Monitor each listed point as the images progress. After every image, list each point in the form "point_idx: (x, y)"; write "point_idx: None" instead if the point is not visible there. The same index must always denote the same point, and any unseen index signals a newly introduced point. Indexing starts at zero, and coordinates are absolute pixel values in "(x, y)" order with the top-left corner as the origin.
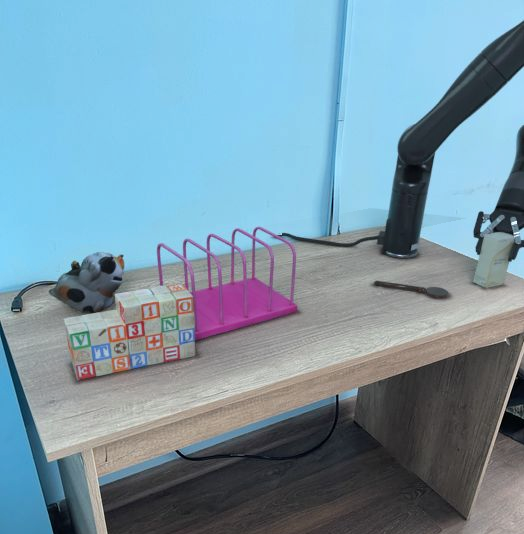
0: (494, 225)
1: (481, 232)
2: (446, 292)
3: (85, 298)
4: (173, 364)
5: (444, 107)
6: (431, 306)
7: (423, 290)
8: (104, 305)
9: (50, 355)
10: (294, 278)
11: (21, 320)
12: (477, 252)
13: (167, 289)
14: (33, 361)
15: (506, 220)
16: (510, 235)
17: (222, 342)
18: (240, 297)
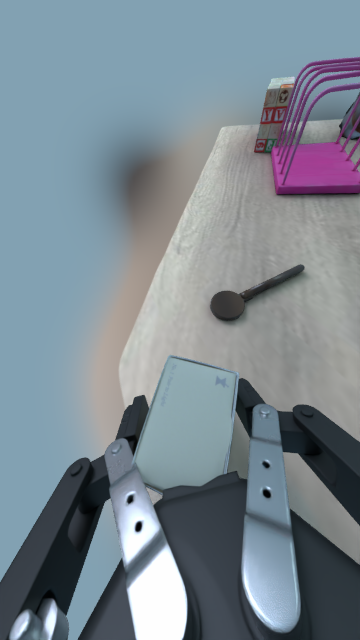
0: (255, 466)
1: (284, 428)
2: (215, 309)
3: (346, 114)
4: (252, 147)
5: None
6: (206, 276)
7: (241, 293)
8: (345, 132)
9: (293, 126)
10: (294, 148)
11: None
12: None
13: (285, 83)
14: None
15: (223, 593)
16: (155, 468)
17: (260, 160)
18: (317, 168)
